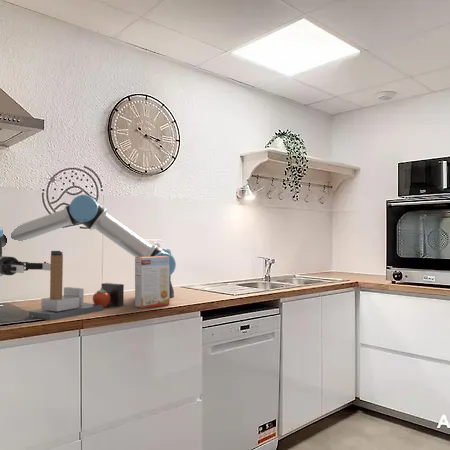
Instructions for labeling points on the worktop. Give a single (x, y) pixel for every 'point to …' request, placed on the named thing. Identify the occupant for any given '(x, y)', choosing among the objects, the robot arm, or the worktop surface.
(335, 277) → the worktop surface
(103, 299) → the tomato
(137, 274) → the cracker box
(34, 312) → the press bench
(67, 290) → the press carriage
